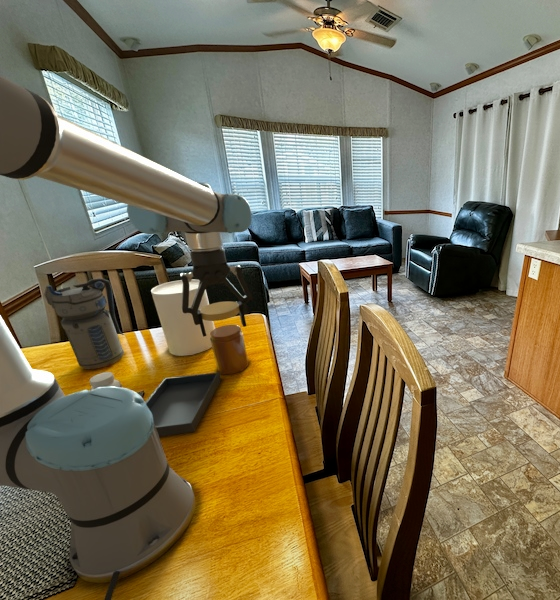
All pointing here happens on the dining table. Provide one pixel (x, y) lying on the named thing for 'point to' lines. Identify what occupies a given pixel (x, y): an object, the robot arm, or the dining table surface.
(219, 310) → the lid
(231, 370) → the jar
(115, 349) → the beverage bottle
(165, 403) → the tray
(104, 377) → the pill bottle
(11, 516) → the dining table surface
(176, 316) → the canister
